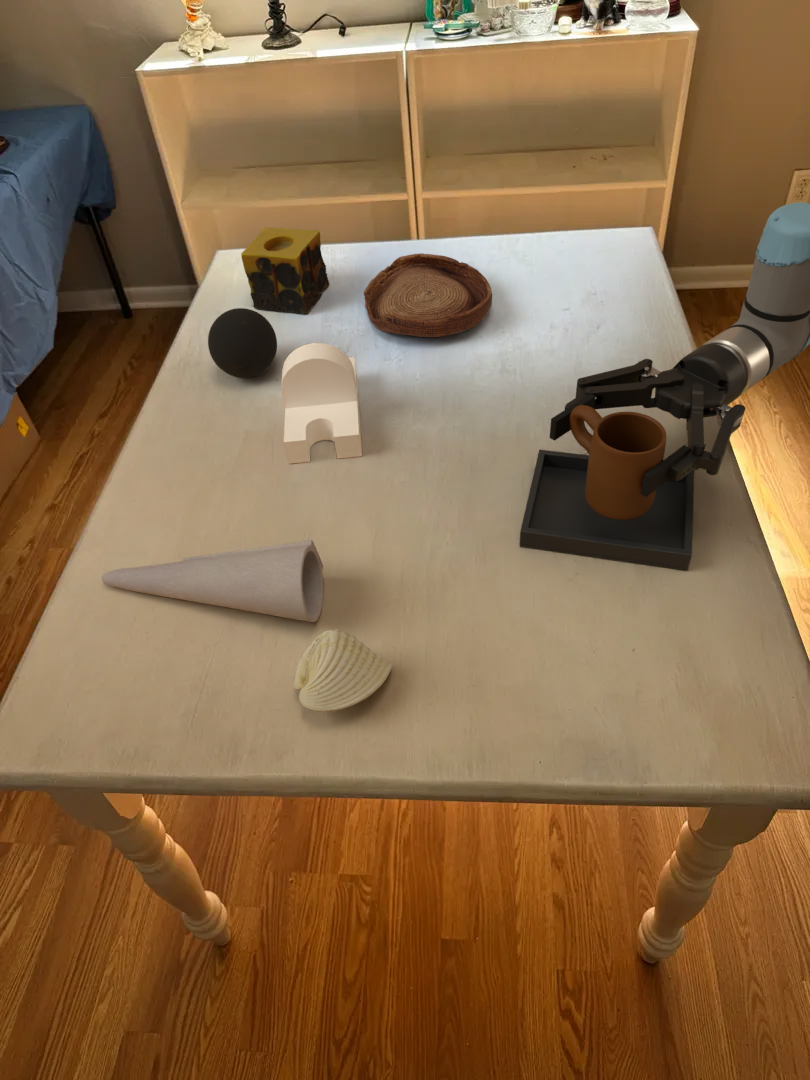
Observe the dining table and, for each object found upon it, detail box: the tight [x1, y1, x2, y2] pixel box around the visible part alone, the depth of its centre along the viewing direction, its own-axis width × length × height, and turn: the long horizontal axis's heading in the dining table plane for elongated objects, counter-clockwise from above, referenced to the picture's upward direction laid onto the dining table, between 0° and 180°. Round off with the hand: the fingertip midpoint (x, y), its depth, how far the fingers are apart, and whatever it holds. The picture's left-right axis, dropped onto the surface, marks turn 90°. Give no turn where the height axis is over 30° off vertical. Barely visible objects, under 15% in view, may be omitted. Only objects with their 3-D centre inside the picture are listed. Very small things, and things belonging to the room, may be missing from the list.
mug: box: [569, 405, 668, 520], centre depth 86 cm, size 12×8×9 cm, turn 36°
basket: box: [363, 253, 493, 338], centre depth 126 cm, size 22×20×5 cm
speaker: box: [207, 307, 278, 379], centre depth 116 cm, size 10×10×10 cm
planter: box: [101, 539, 325, 623], centre depth 86 cm, size 8×9×26 cm
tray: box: [519, 449, 695, 572], centre depth 92 cm, size 15×19×3 cm
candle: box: [240, 227, 330, 315], centre depth 130 cm, size 10×10×10 cm
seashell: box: [293, 628, 393, 713], centre depth 77 cm, size 8×8×8 cm
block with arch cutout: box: [280, 342, 363, 465], centre depth 106 cm, size 18×10×11 cm, turn 4°
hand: (596, 456), depth 84 cm, fingers closed on mug, 12 cm apart
